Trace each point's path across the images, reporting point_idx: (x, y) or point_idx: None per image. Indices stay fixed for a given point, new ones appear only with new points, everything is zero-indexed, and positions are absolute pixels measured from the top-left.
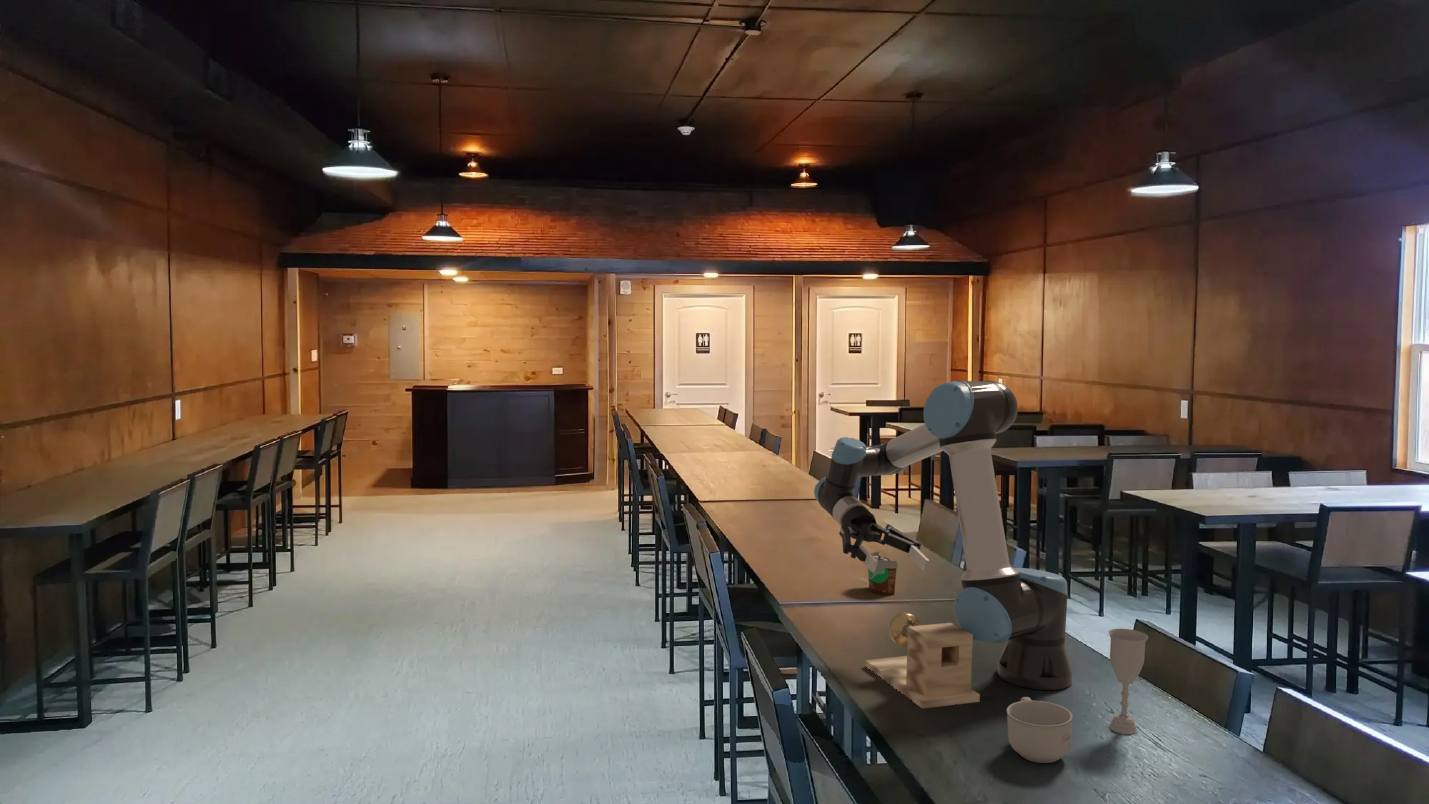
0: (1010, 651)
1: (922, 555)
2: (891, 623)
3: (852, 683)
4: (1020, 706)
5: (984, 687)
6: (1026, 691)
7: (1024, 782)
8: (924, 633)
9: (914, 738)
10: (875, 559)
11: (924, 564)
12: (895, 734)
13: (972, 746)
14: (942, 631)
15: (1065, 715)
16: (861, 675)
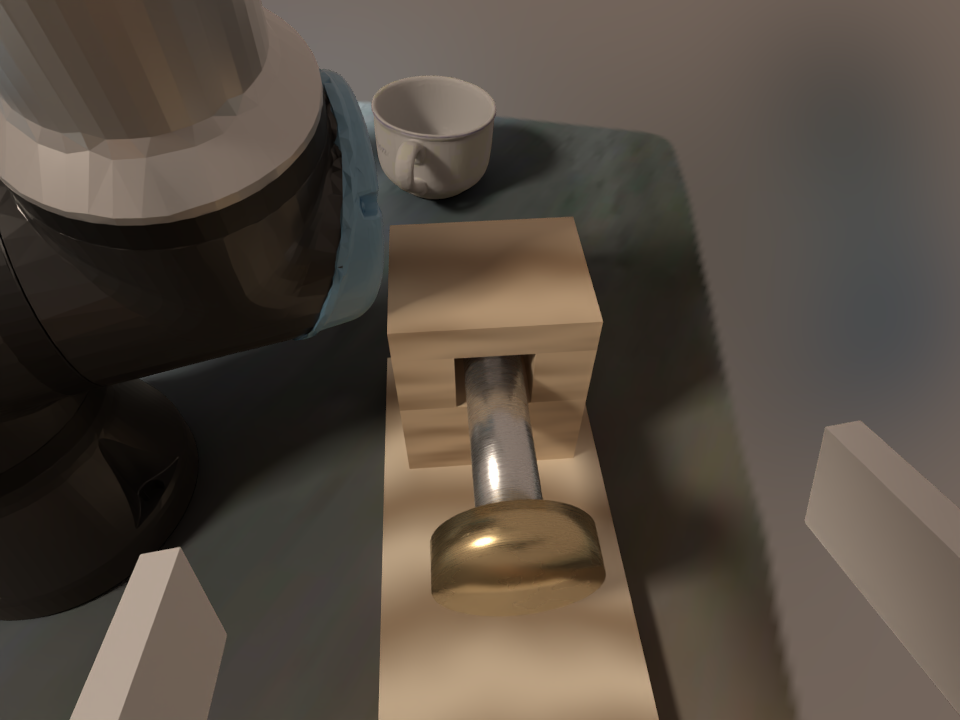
0: (131, 432)
1: (126, 653)
2: (599, 552)
3: (742, 566)
4: (438, 142)
5: (302, 453)
6: (202, 406)
7: (516, 134)
8: (565, 256)
9: (645, 252)
10: (859, 447)
11: (198, 600)
12: (682, 270)
13: (539, 216)
14: (484, 260)
15: (378, 109)
16: (693, 640)
